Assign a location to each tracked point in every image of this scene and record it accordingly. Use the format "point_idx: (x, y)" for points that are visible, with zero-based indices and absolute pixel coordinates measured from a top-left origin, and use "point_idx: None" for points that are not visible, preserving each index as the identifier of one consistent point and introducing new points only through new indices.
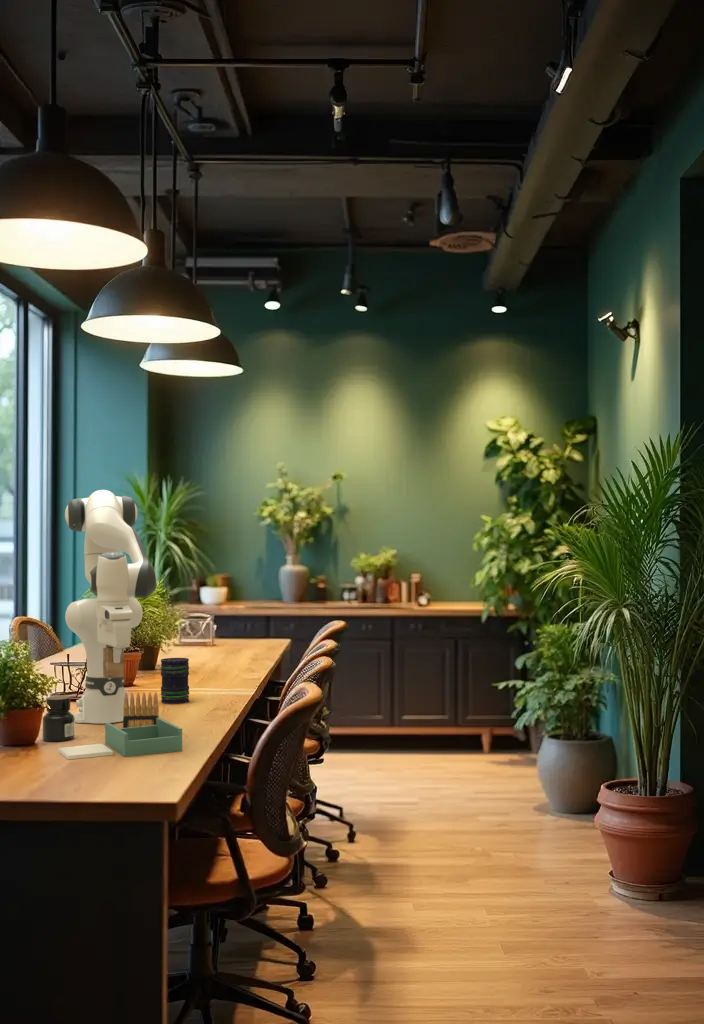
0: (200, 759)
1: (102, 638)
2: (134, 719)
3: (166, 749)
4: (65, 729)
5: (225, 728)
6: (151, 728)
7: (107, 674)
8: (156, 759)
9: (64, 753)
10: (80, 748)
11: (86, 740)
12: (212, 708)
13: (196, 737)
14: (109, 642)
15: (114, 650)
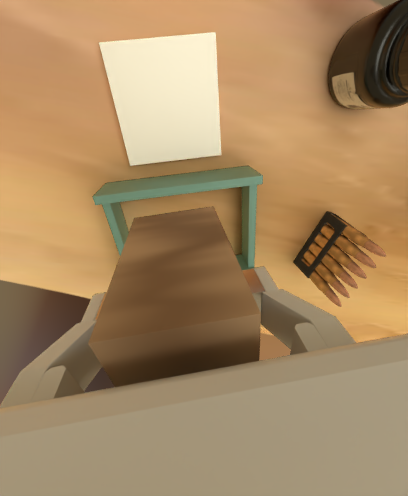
0: (59, 287)
1: (395, 405)
2: (328, 240)
3: None
4: (344, 76)
5: (268, 333)
6: (247, 256)
7: (137, 225)
8: (70, 231)
9: (143, 39)
10: (184, 95)
11: (306, 133)
12: (402, 333)
13: None
14: (31, 442)
15: (18, 376)
